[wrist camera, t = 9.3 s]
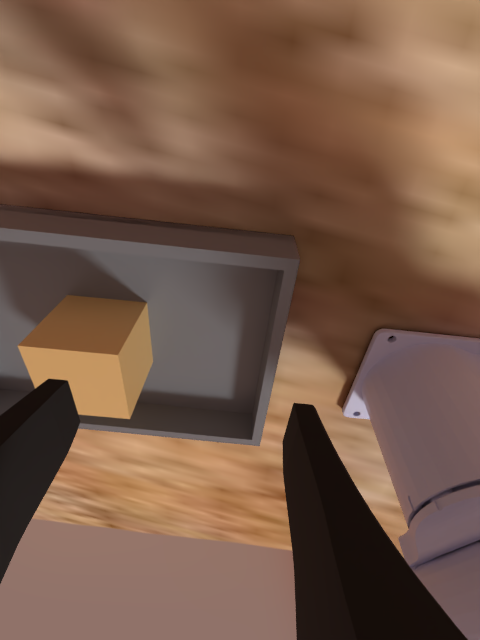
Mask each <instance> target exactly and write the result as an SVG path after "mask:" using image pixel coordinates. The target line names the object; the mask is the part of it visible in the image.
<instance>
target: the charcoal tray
mask: <svg viewBox="0 0 480 640" xmlns="http://www.w3.org/2000/svg"><path fill="white" fill-rule="evenodd" d="M299 263H300V257H299V253H298V250H297V246H296V242H295V238H294V236H290V235H280V234H271V233H262V232H253V231H243V230H234V229H225V228H215V227H206V226H197V225H188V224H178V223H169V222H160V221H150V220H141V219H132V218H123V217H113V216H104V215H95V214H85V213H76V212H67V211H58V210H48V209H39V208H30V207H21V206H11V205H2V204H0V415H1V414H3V413H4V412H5V411H7V410H8V409H9V408H11V407H12V406H13V405H14V404H16V403H17V402H18V401H20V400H21V399H22V398H24V397H25V396H26V395H28V394H29V393H30V392H31V391H33V390H34V389H35V387H34V384H33V382H32V379H31V377H30V375H29V372H28V370H27V367H26V365H25V363H24V360H23V358H22V355H21V353H20V351H19V348H18V345H19V344H20V343H21V342H22V341H23V340H24V339H25V338H26V337H27V336H28V335H29V333H30V332H31V331H32V330H33V329H34V328H35V327H36V326H37V325H38V324H39V323H40V322H41V321H42V320H43V319H44V318H45V317H46V316H47V315H48V314H49V313H50V312H51V311H52V310H53V309H54V308H55V307H56V306H57V305H58V304H59V303H60V302H61V301H62V300H63V299H64V298H65V297H66V296H67V295H73V296H84V297H94V298H105V299H116V300H126V301H137V302H147V306H148V316H149V326H150V336H151V346H152V356H153V363H152V366H151V368H150V371H149V373H148V375H147V378H146V380H145V383H144V385H143V388H142V390H141V393H140V395H139V398H138V400H137V403H136V405H135V408H134V410H133V413H132V415H131V418H130V419H123V418H112V417H101V416H90V415H79V414H78V415H79V418H80V421H81V422H80V424H79V427H78V428H80V429H90V430H100V431H111V432H121V433H131V434H141V435H152V436H162V437H172V438H182V439H192V440H203V441H213V442H223V443H233V444H244V445H254V446H260V442H261V437H262V432H263V428H264V423H265V419H266V414H267V410H268V405H269V400H270V396H271V391H272V387H273V382H274V377H275V373H276V368H277V364H278V359H279V355H280V350H281V345H282V341H283V336H284V332H285V327H286V322H287V318H288V313H289V309H290V304H291V300H292V295H293V290H294V286H295V281H296V277H297V272H298V268H299Z"/></svg>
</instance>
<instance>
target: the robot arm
mask: <svg viewBox="0 0 480 640" xmlns="http://www.w3.org/2000/svg"><path fill="white" fill-rule="evenodd" d="M391 336H394V337H393V338H391V339H388V338H389V337H391ZM342 412H343V415H344V416H346V417H351V418H361V419H370V420H371V423H372V426H373V429H374V432H375V435H376V437H377V440H378V443H379V446H380V449H381V452H382V455H383V457H384V460H385V463H386V466H387V469H388V472H389V474H390V477H391V480H392V483H393V486H394V489H395V491H396V494H397V497H398V500H399V503H400V506H401V508H402V511H403V514H404V517H405V520H406V523H407V525H408V528H409V530H408V531H407V532H406V533H405V534H404V535H402V536H400V537H399V538H398V539H399V542H400V545H401V549H402V552H403V555H404V558H405V559H404V558H403V557H402V555H401V554H400V553H399V551H398V550H397V548H396V547H395V546H394V544H393V543H392V541H391V540H390V538H389V537H388V536H387V534H386V533H385V531H384V530H383V528H382V527H381V525H380V524H379V522H378V521H377V519H376V518H375V516H374V515H373V513H372V512H371V510H370V508H369V507H368V505H367V504H366V502H365V500H364V499H363V497H362V496H361V494H360V492H359V491H358V489H357V487H356V486H355V484H354V482H353V481H352V479H351V477H350V475H349V474H348V472H347V470H346V468H345V466H344V465H343V463H342V461H341V459H340V457H339V456H338V454H337V452H336V450H335V448H334V446H333V444H332V442H331V440H330V438H329V436H328V434H327V432H326V430H325V428H324V426H323V424H322V422H321V420H320V418H319V415H318V413H317V411H316V409H315V407H314V406H313V405H308V404H298V403H294V404H293V407H292V411H291V414H290V418H289V421H288V425H287V428H286V432H285V435H284V439H283V475H284V484H285V492H286V501H287V509H288V517H289V525H290V533H291V542H292V550H293V561H294V574H295V575H294V576H295V599H296V627H297V628H296V629H297V640H480V338H470V337H461V336H451V335H442V334H432V333H422V332H413V331H403V330H393V329H380V330H377V331H376V332H375V333H374V335H373V338H372V340H371V342H370V345H369V347H368V349H367V352H366V354H365V357H364V359H363V361H362V364H361V366H360V368H359V371H358V373H357V375H356V378H355V380H354V382H353V385H352V387H351V389H350V392H349V394H348V397H347V399H346V401H345V404H344V406H343V408H342ZM80 422H81V421H80V418H79V415H78V412H77V408H76V405H75V402H74V399H73V395H72V392H71V389H70V386H69V382H68V380H58V379H47V380H46V381H45V382H43V383H42V384H41V385H39V386H38V387H37V388H35V389H34V390H33V391H31V392H30V393H29V394H28V395H26V396H25V397H24V398H22V399H21V400H20V401H18V402H17V403H16V404H14V405H13V406H12V407H11V408H9V409H8V410H7V411H5V412H4V413H3V414H1V415H0V583H1V581H2V579H3V577H4V574H5V572H6V570H7V568H8V565H9V563H10V561H11V559H12V557H13V554H14V552H15V550H16V548H17V545H18V543H19V541H20V539H21V537H22V535H23V534H24V532H25V530H26V528H27V526H28V524H29V522H30V520H31V519H32V517H33V515H34V513H35V511H36V510H37V508H38V506H39V504H40V502H41V501H42V499H43V497H44V495H45V494H46V492H47V490H48V488H49V486H50V485H51V483H52V481H53V479H54V477H55V476H56V474H57V472H58V470H59V468H60V466H61V465H62V463H63V461H64V459H65V457H66V455H67V454H68V451H69V449H70V447H71V444H72V442H73V440H74V437H75V435H76V432H77V429H78V427H79V424H80Z"/></svg>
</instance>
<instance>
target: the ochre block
mask: <svg viewBox="0 0 480 640" xmlns="http://www.w3.org/2000/svg"><path fill="white" fill-rule="evenodd" d="M18 348H19V351H20V353H21V355H22V358H23V360H24V363H25V365H26V367H27V370H28V372H29V375H30V377H31V379H32V382H33V384H34V387H35V388H37V387H38V386H39V385H41V384H42V383H43V382H45V381H46V380H47V379H58V380H68V382H69V386H70V389H71V392H72V395H73V399H74V402H75V405H76V408H77V412H78V414H79V415H90V416H101V417H112V418H123V419H130V418H131V415H132V413H133V410H134V408H135V405H136V403H137V400H138V398H139V395H140V393H141V390H142V388H143V385H144V383H145V380H146V378H147V375H148V373H149V371H150V368H151V366H152V363H153V356H152V346H151V336H150V326H149V316H148V306H147V302H137V301H126V300H116V299H105V298H94V297H84V296H73V295H67V296H66V297H65V298H64V299H63V300H62V301H61V302H60V303H59V304H58V305H57V306H56V307H55V308H54V309H53V310H52V311H51V312H50V313H49V314H48V315H47V316H46V317H45V318H44V319H43V320H42V321H41V322H40V323H39V324H38V325H37V326H36V327H35V328H34V329H33V330H32V331H31V332H30V333H29V335H28V336H27V337H26V338H25V339H24V340H23V341H22V342H21V343H20V344H19V345H18Z"/></svg>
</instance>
